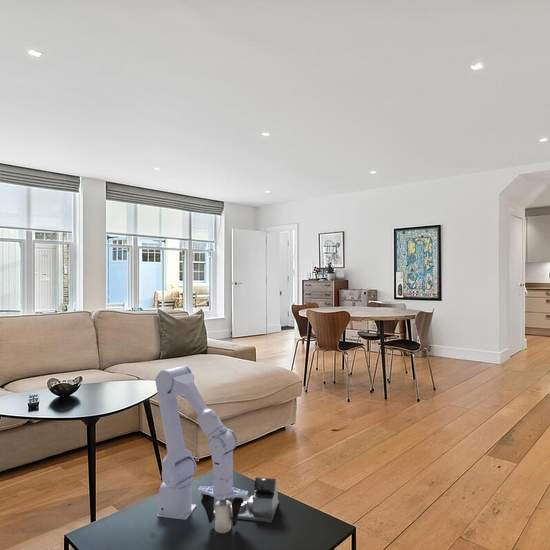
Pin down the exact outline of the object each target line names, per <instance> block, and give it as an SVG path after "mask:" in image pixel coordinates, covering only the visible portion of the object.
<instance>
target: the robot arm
mask: <svg viewBox="0 0 550 550" xmlns="http://www.w3.org/2000/svg"><path fill="white" fill-rule="evenodd" d="M154 380H155V387H156V391H157V393H156V395H157V401H158V405H159V406H158V407H159V412H160V417H161V423H162V430H163V433H164V435H163V436H164V442H165V446H166V451H167V453H166V454H165V457H164V458H163V459H162V462H161V466H162V467H161V468H162V469H161V479H162V482H161V484H160V486H159V489H158V513H157V517H161V518H169V519H177V520H185V521H186V520H188V518H189V517H190V515H191V514H192V513H193V512H194V510H195V508H197V504H195V503H194V504H193V503H192V481H193V480H194V476H195V475H196V473H197V468H198V465H197V462H196V461H195V458H194V456H193V451H191V450H189V449H187V447H186V444H185V440H184V433H183V429H182V423H181V418H180V413H179V407H178V403H177V402H178V400H177V397H178V396H179V395H181V396H183V397H184V398H185V400H186V401H187V402H188V404H189V405H190V406H191V408H192V409H193V410H194V412H195V413H196V415H197V420H196V421H197V424H198V426H199V428H200V429H201V430H202V432H203V433H204V435H205V437H206V438H207V440H208V441H209V443H208V445H207V446H208V450H209V452H210V454H211V460H212V485H211V486H199V488H198V489H197V497H201V500H200V503H201V505H202V508H204V510H205V513H206V516H207V520H208V523H209V524H212V523H213V521H215V516H214V510H215V500H217V501H219V500H222V499H223V498H232V499H234V500H233V502H232V504H231V506H232V512H233V518H232V520H231V525H232V526H233V527H235V526H236V525H237V523H238V520H239V519H238V514H239V510H240V507H241V505H242V502H243V501H247V499H248V497H249V491H248V490H244V489H240V488H237V487H234V450H235V448H236V447H237V445H238V440H237V439H238V437H237V436H236V434H235V432H234V431H233V429H229V428H228V427H226V426H225V425H224V423H223V422H222V421H221V419H220V417H219V416H218V413H217V412H216V411H215V410H214V409H211V408H209V407H208V406H207V404H206V402H205V400H204V398H203V396H202V395H201V393H200V391H199V389H198V388H197V386H196V384H195V374H194V373H193V372H192V370H191V369H190V367H189V366H188V365H185V364H182V365H180V366H176V367H172V368H168V369H162V370H160V371H158V374H157V375H156V377H155V379H154Z"/></svg>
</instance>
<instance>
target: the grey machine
mask: <svg viewBox="0 0 550 550" xmlns="http://www.w3.org/2000/svg"><path fill="white" fill-rule="evenodd" d="M253 487H254V494H253V495H251V496H248V499H247V501H243V502H242V505H241V507H240V510H239V514H238V519H237V520H245V521H247V520H248V521H252V522H253V521H256V522H262V523H272V522H273V519H274V517H275V514H276V512H277V508H278V505H279V503H280V502H279V501H280V500H279V499H278V497H279V495H278V493H279V492H278V488H279V487H278V486H277V479H276V478H270V477H269V478H267V477H259V476H256V477H255V480H254V484H253ZM223 499H226V500H228V501H230V502H231V504H232V502H233V500H234V499H232V498H223ZM214 517H215V509H214ZM231 519H233V512H232V506H231Z"/></svg>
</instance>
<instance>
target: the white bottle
mask: <svg viewBox="0 0 550 550" xmlns="http://www.w3.org/2000/svg"><path fill="white" fill-rule="evenodd" d="M214 510H215V516H214V530H215V532H216V533H217V534H226V533H228V532H230V531H231V528H232V518H231V502H230V501H228V500H226V499H222V500H217V501H216V502H214Z"/></svg>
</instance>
